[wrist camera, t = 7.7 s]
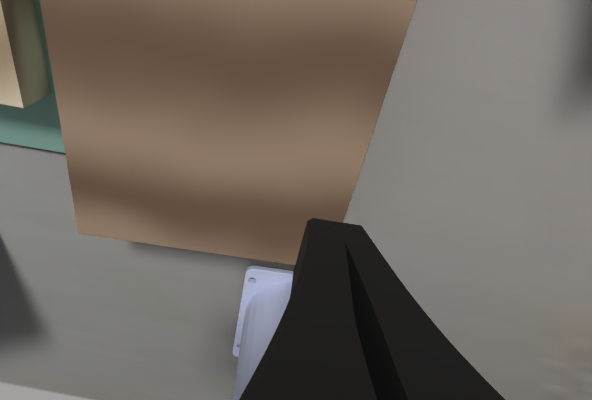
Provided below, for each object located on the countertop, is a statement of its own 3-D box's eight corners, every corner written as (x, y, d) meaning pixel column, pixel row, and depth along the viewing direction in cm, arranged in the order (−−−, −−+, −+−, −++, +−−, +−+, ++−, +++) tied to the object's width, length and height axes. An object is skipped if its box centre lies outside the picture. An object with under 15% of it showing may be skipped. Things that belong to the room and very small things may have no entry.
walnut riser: (322, 222, 22) (327, 269, 18) (114, 189, 20) (78, 233, 17) (448, -207, 12) (509, -275, 9) (68, -322, 11) (-36, -455, 7)
